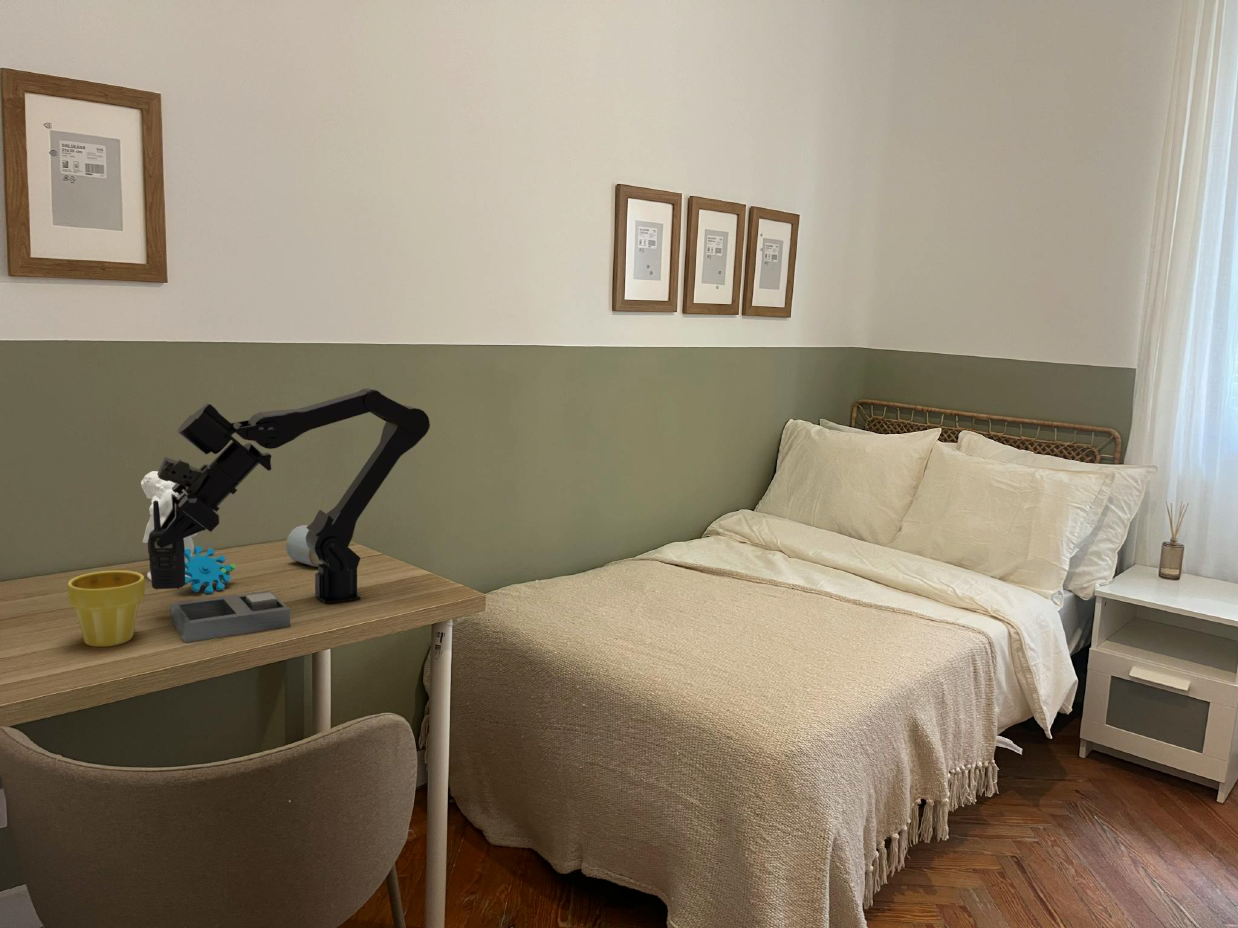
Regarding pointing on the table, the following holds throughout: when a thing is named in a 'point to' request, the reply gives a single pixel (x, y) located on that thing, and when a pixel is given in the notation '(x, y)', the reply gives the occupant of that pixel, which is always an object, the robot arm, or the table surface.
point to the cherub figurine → (161, 506)
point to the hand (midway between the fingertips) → (157, 542)
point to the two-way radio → (165, 558)
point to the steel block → (261, 601)
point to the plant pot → (106, 605)
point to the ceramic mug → (300, 547)
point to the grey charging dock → (225, 617)
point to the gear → (206, 570)
